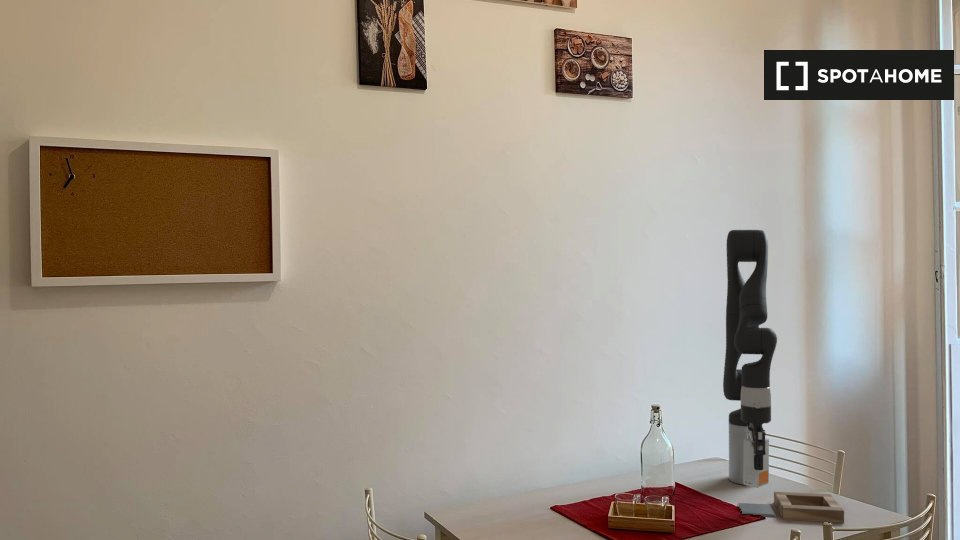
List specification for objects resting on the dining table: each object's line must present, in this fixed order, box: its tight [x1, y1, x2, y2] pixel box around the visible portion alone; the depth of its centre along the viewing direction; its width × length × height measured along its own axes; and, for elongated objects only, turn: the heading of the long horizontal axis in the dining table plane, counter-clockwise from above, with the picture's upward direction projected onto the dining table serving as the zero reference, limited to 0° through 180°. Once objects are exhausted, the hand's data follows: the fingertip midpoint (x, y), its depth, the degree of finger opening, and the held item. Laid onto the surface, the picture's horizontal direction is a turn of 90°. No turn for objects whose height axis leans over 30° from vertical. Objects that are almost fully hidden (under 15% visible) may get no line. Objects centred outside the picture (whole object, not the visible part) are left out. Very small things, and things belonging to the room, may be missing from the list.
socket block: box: [773, 491, 845, 523], centre depth 201 cm, size 13×14×3 cm
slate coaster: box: [737, 502, 776, 518], centre depth 203 cm, size 8×8×1 cm
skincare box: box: [742, 437, 770, 489], centre depth 202 cm, size 6×4×12 cm
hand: (756, 465), depth 202 cm, fingers closed on skincare box, 7 cm apart
